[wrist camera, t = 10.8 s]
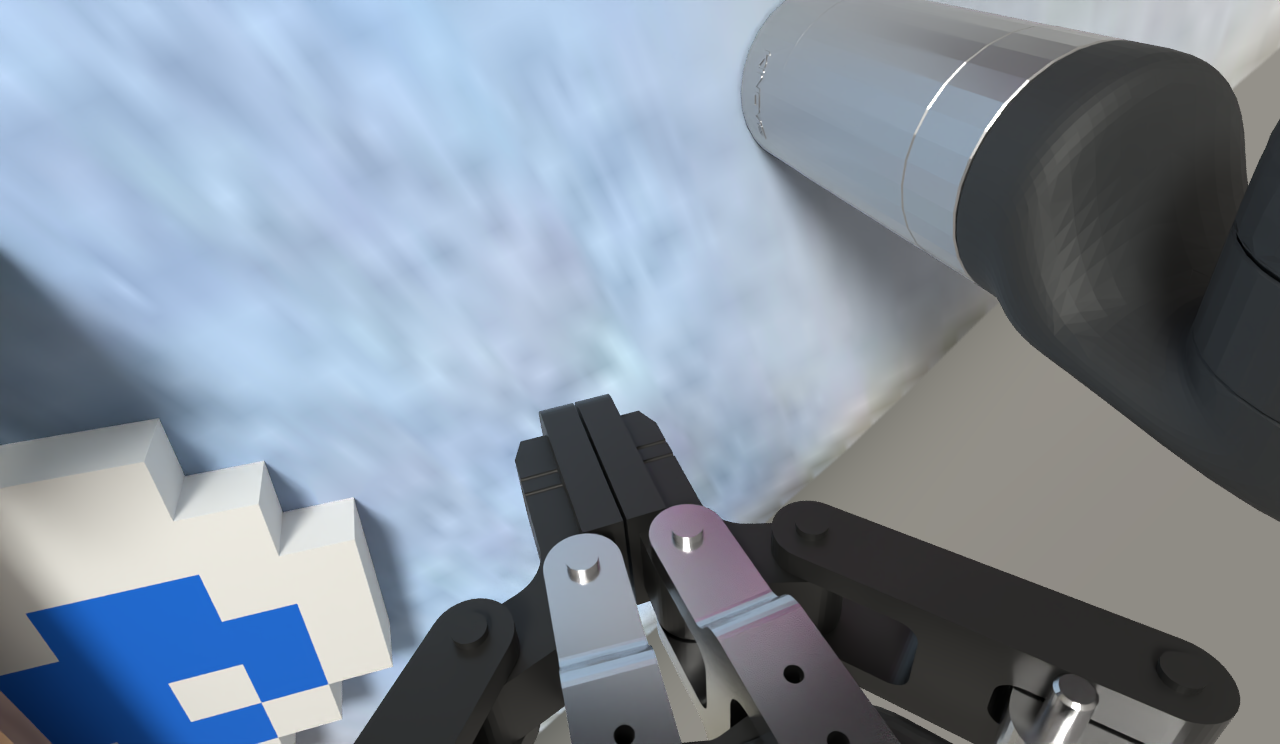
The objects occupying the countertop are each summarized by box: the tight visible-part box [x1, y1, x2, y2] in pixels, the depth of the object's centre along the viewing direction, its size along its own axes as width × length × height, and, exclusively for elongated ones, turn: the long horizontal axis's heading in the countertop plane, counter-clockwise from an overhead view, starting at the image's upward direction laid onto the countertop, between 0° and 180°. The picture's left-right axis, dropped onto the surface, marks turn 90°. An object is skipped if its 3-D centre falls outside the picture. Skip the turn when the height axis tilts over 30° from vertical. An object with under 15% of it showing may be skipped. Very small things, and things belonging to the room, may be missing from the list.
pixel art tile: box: [0, 418, 393, 744], centre depth 43 cm, size 28×4×28 cm
